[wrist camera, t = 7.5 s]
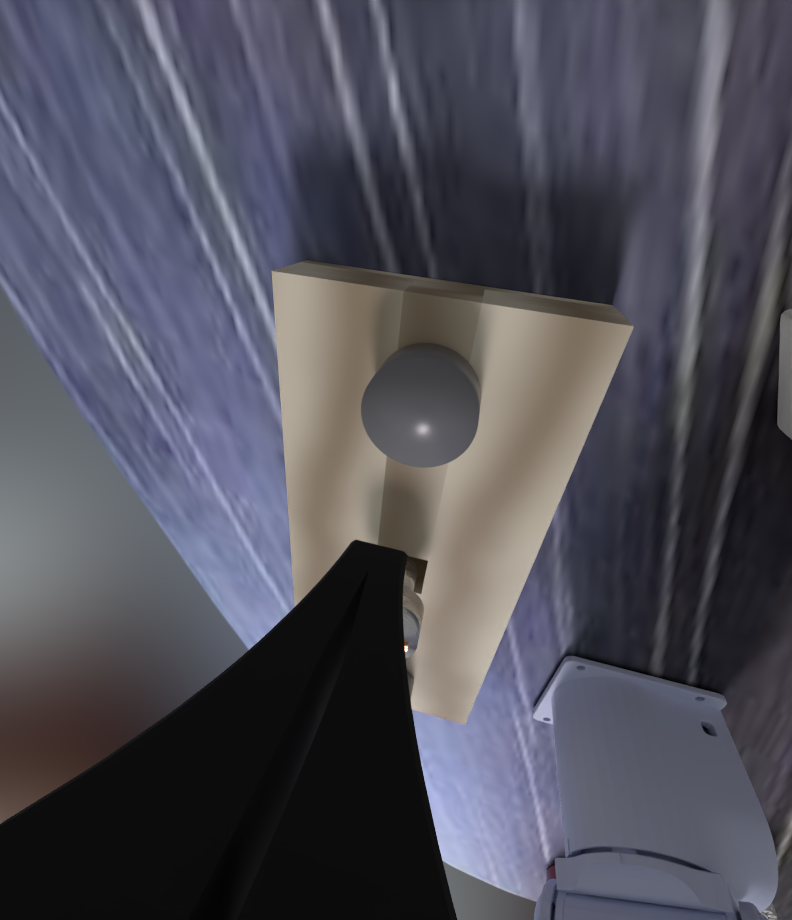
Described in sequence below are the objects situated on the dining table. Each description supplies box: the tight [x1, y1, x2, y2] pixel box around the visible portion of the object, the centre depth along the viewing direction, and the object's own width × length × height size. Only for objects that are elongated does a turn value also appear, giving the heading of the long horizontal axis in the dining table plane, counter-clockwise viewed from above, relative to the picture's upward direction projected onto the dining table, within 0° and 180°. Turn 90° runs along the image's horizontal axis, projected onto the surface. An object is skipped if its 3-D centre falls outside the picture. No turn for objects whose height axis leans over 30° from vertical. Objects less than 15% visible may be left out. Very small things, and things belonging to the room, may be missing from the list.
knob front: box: [361, 343, 481, 468], centre depth 15 cm, size 4×4×4 cm
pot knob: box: [403, 558, 424, 658], centre depth 19 cm, size 3×3×4 cm
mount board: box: [272, 260, 634, 725], centre depth 22 cm, size 12×27×3 cm, turn 175°
